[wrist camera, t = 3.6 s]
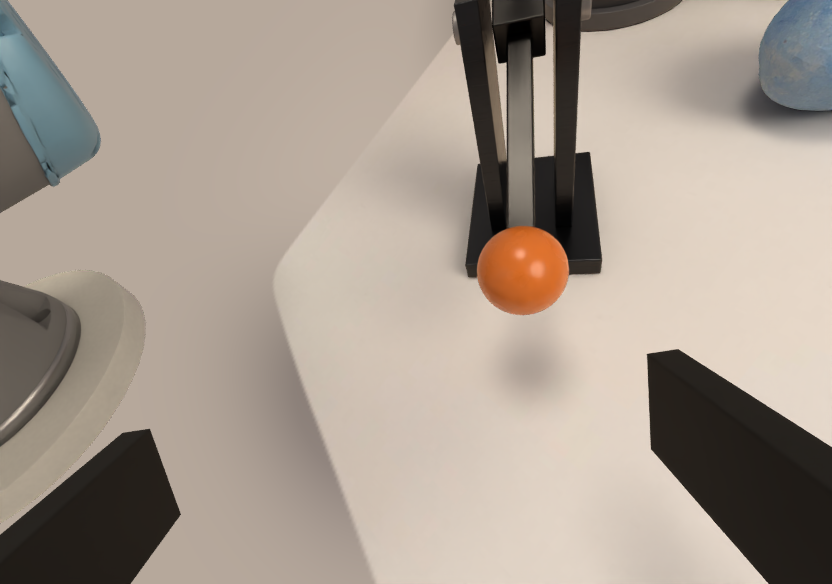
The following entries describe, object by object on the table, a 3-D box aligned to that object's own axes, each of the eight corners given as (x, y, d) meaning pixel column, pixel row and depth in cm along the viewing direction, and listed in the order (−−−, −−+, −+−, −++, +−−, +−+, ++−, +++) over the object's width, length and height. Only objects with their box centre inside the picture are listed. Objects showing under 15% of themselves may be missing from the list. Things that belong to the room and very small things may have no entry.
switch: (568, 320, 18) (572, 307, 15) (483, 320, 19) (469, 308, 16) (559, 11, 21) (561, -59, 17) (486, 27, 22) (474, -37, 18)
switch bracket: (600, 273, 25) (637, -3, 14) (468, 277, 28) (407, 44, 16) (588, 166, 31) (608, -95, 20) (479, 177, 33) (440, -50, 22)
